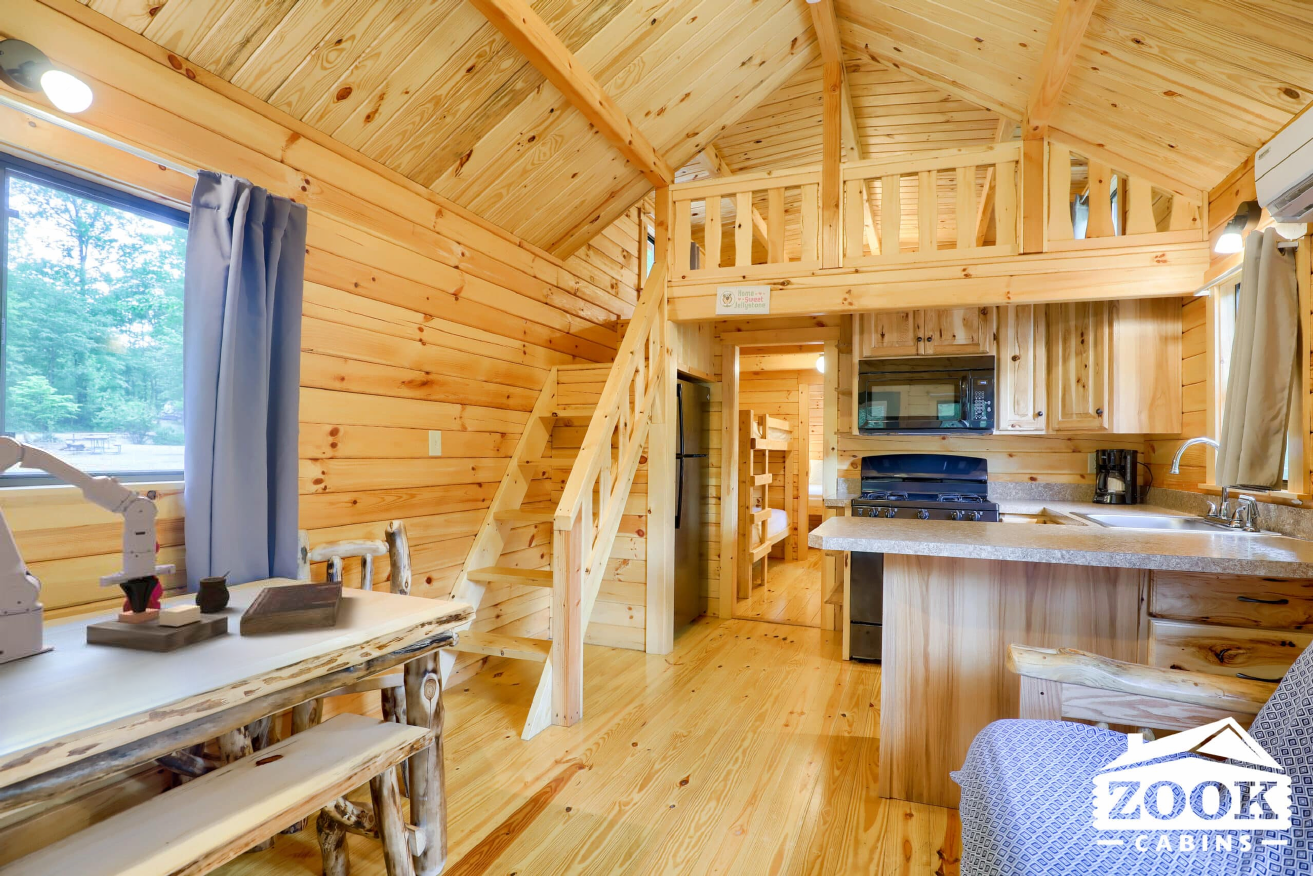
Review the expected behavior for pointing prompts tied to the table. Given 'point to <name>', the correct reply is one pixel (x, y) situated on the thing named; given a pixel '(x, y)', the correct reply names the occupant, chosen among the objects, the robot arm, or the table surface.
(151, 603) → the onion
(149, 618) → the terracotta key
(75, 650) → the table surface
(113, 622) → the key bed
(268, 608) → the hardback book
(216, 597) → the mate gourd
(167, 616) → the cream key
